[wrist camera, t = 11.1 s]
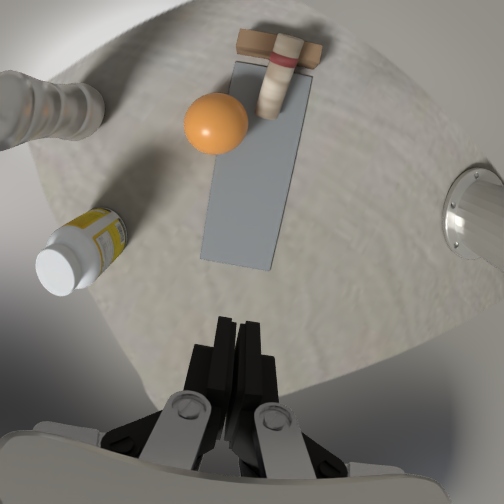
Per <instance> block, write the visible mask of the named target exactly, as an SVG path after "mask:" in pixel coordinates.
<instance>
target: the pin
mask: <svg viewBox="0 0 504 504" xmlns="http://www.w3.org/2000/svg"><path fill="white" fill-rule="evenodd" d="M303 43H304V40H302V39H300V38H297V37H294V36H291V35H287V34H283V33H278V35H277V38H276V41H275V45H274V48H273V50H272V52H271V56H270V59H269V60H270V61H269V64H268V67H267V70H266V74H265V77H264V80H263V84H262V87H261V90H260V94H259V97H258V100H257V104H256V107H255V111H254V112H255V114H256V115H258V116H259V117H262V118H264V119H269V120H275V119H277V118H278V115H279V112H280V110H281V107H282V104H283V101H284V98H285V95H286V92H287V89H288V86H289V83H290V81H291V78H292V75H293V72H294V69H295V68H296V65H297V62H298V59H299V55H300V52H301V49H302V46H303Z"/></svg>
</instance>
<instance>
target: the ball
mask: <svg viewBox="0 0 504 504" xmlns="http://www.w3.org/2000/svg"><path fill="white" fill-rule="evenodd" d="M247 130H248V116H247V113H246V110H245V109H244V107H243V105H242V104H241V103H240V102H239V101H238V100H237V99H235V98H234V97H232V96H230V95H227V94H223V93H210V94H207V95H204V96H202V97H200V98H198V99H197V100H195V101H194V102H193V103H192V104H191V106H190V107H189V108H188V110H187V112H186V115H185V118H184V131H185V134H186V137H187V139H188V140H189V142H190V143H191V144H192V145H193V146H194V147H195V148H196V149H198V150H199V151H201V152H203V153H206V154H211V155H219V154H224V153H227V152H230V151H232V150H233V149H235V148H236V147H237V146H239V145H240V143H241V142H242V141H243V139H244V138H245V136H246V133H247Z"/></svg>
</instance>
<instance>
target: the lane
mask: <svg viewBox="0 0 504 504" xmlns="http://www.w3.org/2000/svg"><path fill="white" fill-rule="evenodd" d="M266 70H267V67H263V66H257V65H252V64H246V63H239V62H235V66H234V70H233V75H232V79H231V84H230V89H229V93H228V95H230V96H232V97H234V98H235V99H237V100H238V101H239V102H240V103H241V104H242V105H243V107H244V109H245V110H246V113H247V116H248V130H247V133H246V136H245V138H244V139H243V141H242V142H241V143H240V145H239V146H237V147H236V148H235V149H233V150H232V151H230V152H227V153H224V154H219V155H216V160H215V166H214V172H213V178H212V183H211V189H210V196H209V202H208V208H207V214H206V221H205V228H204V234H203V241H202V248H201V255H200V259H203V260H208V261H214V262H219V263H225V264H230V265H236V266H241V267H247V268H253V269H259V270H264V271H270V266H271V262H272V258H273V254H274V250H275V245H276V241H277V237H278V232H279V228H280V224H281V219H282V215H283V210H284V206H285V202H286V197H287V193H288V188H289V184H290V179H291V175H292V170H293V165H294V161H295V156H296V152H297V147H298V142H299V138H300V133H301V128H302V123H303V119H304V114H305V109H306V104H307V99H308V94H309V90H310V85H311V80H312V77H308V76H304V75H300V74H296V73H293V75H292V78H291V81H290V83H289V86H288V89H287V92H286V95H285V98H284V101H283V104H282V107H281V110H280V112H279V115H278V118H277V119H275V120H269V119H264V118H262V117H259V116H258V115H256V114H255V112H254V111H255V107H256V104H257V100H258V97H259V94H260V90H261V87H262V84H263V80H264V77H265V74H266Z"/></svg>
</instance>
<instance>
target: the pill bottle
mask: <svg viewBox="0 0 504 504" xmlns="http://www.w3.org/2000/svg"><path fill="white" fill-rule="evenodd" d="M126 242H127V231H126V227H125V225H124V223H123V221H122V219H121V218H120V217H119V216H118V215H117V214H116V213H115V212H114V211H112V210H110V209H107V208H95V209H92V210H90V211H88V212H86V213H85V214H83V215H81V216H79V217H77V218H76V219H74V220H72V221H70V222H69V223H67V224H65V225H63V226H62V227H60V228H58V229H57V230H56V231H54V233H53V234H52V235H51V236H50V238H49V240H48V243H47V247H46V248H45V249H43V250H42V251H41V252H40V253H39V254H38V256H37V259H36V272H37V275H38V278H39V280H40V282H41V283H42V285H43V286H44V287H45V288H46V289H47V290H48V291H49V292H51V293H52V294H54V295H57V296H66V295H68V294H70V293H71V292H72V291H73V290H74V289H80V288H85V287H88V286H89V285H91V284H92V283H93V282H94V281H95V280H96V279H97V278H98V277H99V276H100V275H101V274H102V273H103V272H104V271H105V270H106V269H107V268H108V267H109V266H110V264H111V263H112V262H113V261H114V260H115V259H116V258H117V257H118V256H119V255H120V254H121V253H122V252H123V250H124V248H125V246H126Z"/></svg>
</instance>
